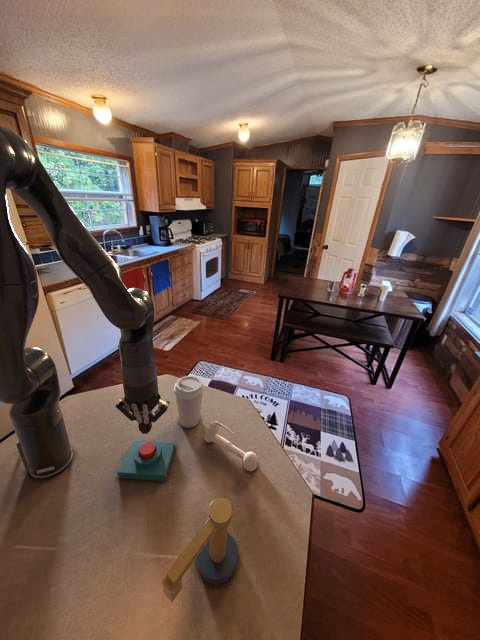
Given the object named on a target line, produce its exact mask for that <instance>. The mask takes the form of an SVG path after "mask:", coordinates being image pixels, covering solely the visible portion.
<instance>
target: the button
mask: <svg viewBox="0 0 480 640" xmlns="http://www.w3.org/2000/svg"><path fill="white" fill-rule="evenodd" d="M139 452H140V457H141V458H142V459H149V458H151V457H153V456H154V454H155V452H156V450H155V444H154V443H152V442H146V443H144V444H142V445H141V446H140V449H139Z"/></svg>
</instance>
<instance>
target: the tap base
mask: <svg viewBox="0 0 480 640" xmlns="http://www.w3.org/2000/svg"><path fill="white" fill-rule="evenodd" d="M228 531H229V527H228V528H227V529H226V530H224V531H216V532H215V533H214V534H213V536H212V537H211V539H210V540H209V541H208V543H207V544H206V545H205V547H204V548H203V549H202V551H201V552H200V554H199V555H198V556H197V558H196V559H197V560H196V561H197V564H196V565H197V569H198V572H199V574H200V576H201V578H202V579H203V580H204V581H205V582H207V583H208V584H210V585H214V586H215V585H216V586H217V585H222V584H224V583H226V582H228V580H229V579H231V577H232V576H233V574H234V573H235V570H236V567H237V563H238V547H237V546H238V545H237V543H236V541H235V539H234V537H233V536H232V535H231V534H230V533H229V532H228Z"/></svg>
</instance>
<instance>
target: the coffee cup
mask: <svg viewBox="0 0 480 640" xmlns="http://www.w3.org/2000/svg"><path fill="white" fill-rule="evenodd" d="M204 392H205V384H204V382H203V381H202V379H201V378H200V377H199V376H195V375H185V376H182V377H180V378H179V379H177V381H176V383H175V384H174V386H173V394H174V395H175V400H176V406H177V414H178V421H179V424H180V425H181V427H184V428H189V429H190V428H194V427H195V426H197V425H198V424H199V422H200V416H201V410H202V409H201V408H202V400H203V395H204Z"/></svg>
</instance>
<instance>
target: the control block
mask: <svg viewBox="0 0 480 640" xmlns="http://www.w3.org/2000/svg"><path fill="white" fill-rule="evenodd" d="M146 442H152V443H154V444H155V450H156V452H155V454H154V456H153V457H151V458H149V459H142V458H141V457H140V452H139V449H140V446H141V445H142V444H144V443H146ZM175 449H176V442H174V441H160V440H159V441H158V440H145V439H144V440H142V439H133V440H132V442H131V444H130V446H129V448H128V450H127V452H126V454H125V456H124V458H123V460H122V462H121V464H120V466H119V469H118V470H117V477H118V479H130V480H141V481H142V480H145V481H159V482H166V480H167V476H168V474H169V470H170V466H171V463H172V459H173V456H174V453H175Z"/></svg>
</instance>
